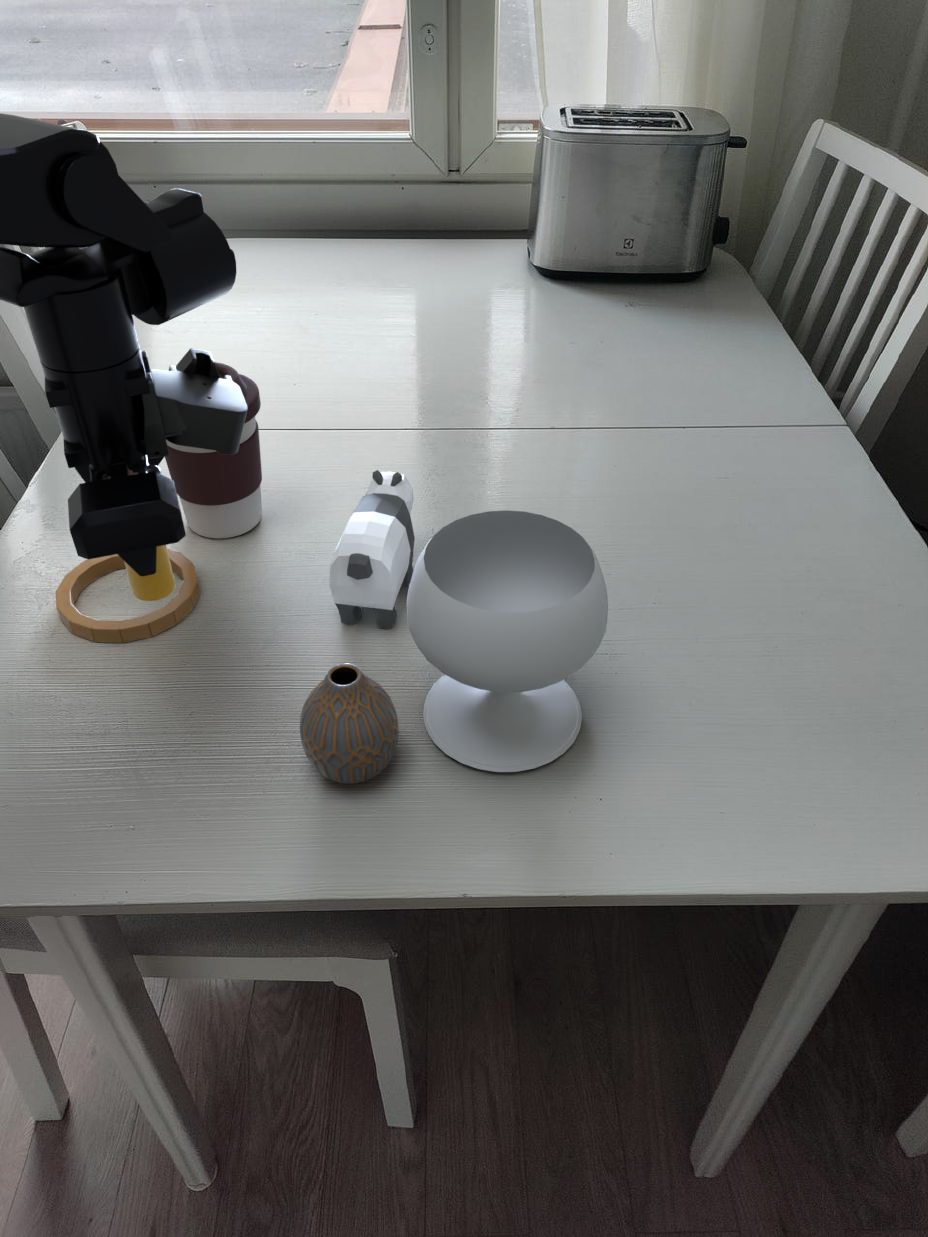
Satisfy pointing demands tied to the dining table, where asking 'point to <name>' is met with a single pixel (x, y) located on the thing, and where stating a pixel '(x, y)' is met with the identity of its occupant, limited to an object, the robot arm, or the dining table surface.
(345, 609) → the giant panda
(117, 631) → the wooden ring
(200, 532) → the coffee cup
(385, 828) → the dining table surface
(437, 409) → the dining table surface
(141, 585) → the pencil stub
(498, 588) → the chalice
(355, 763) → the vase
